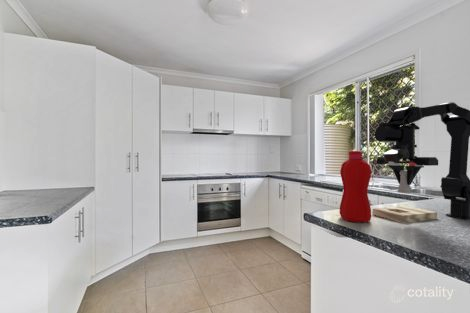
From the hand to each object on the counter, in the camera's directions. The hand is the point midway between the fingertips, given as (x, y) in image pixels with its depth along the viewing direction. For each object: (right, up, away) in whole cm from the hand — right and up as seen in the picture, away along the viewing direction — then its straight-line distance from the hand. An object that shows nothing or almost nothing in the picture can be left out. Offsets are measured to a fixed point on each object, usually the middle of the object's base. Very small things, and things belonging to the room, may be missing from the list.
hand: (404, 184), depth 87 cm
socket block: (+2, -13, +4) cm, 14 cm away
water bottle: (-18, -13, -1) cm, 22 cm away
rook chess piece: (0, -3, 0) cm, 3 cm away
